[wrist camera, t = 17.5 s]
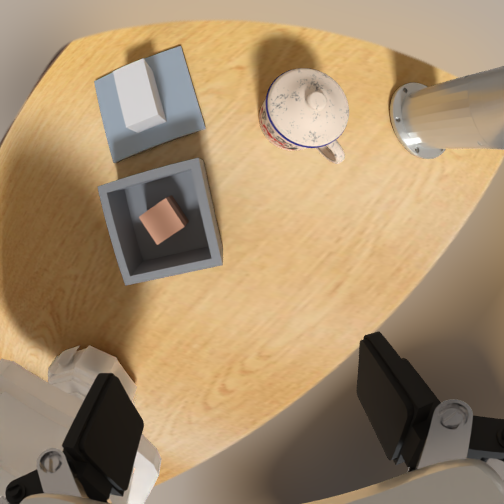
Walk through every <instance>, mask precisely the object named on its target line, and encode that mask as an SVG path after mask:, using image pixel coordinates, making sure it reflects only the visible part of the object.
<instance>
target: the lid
mask: <svg viewBox="0 0 504 504" xmlns="http://www.w3.org/2000/svg"><path fill="white" fill-rule="evenodd" d="M94 83H95V88H96V93H97V98H98V103H99V107H100V112H101V116H102V120H103V124H104V129H105V133H106V137H107V140H108V144H109V148H110V152H111V155H112V159H113V162H114V163H116V162H119V161H121V160H123V159H126V158H128V157H130V156H133V155H135V154H138V153H140V152H143V151H145V150H148V149H150V148H153V147H155V146H158V145H161V144H163V143H166V142H169V141H171V140H174V139H177V138H180V137H183V136H186V135H189V134H192V133H195V132H198V131H201V130H204V129H206V128H205V125H204V121H203V118H202V115H201V112H200V108H199V105H198V102H197V98H196V95H195V92H194V88H193V85H192V82H191V78H190V75H189V72H188V68H187V65H186V62H185V58H184V55H183V51H182V48H181V46H179V47H176V48H173V49H170V50H167V51H164V52H161V53H158V54H156V55H153V56H150V57H148V58H145V59H144V58H142V59H140V60H138V61H135V62H133V63H130V64H128V65H126V66H123V67H121V68H119V69H117V70H115V71H113V73H110V74H108V75H106V76H104V77H102V78H100V79H98V80H96V81H94Z"/></svg>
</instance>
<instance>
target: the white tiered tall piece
mask: <svg viewBox="0 0 504 504" xmlns="http://www.w3.org/2000/svg"><path fill="white" fill-rule="evenodd" d="M78 348H79V346H77V347H74V348H71V349H68V350H65V351H62V353H61V354H60V355H59V357H58V356H57V357H56V358H55V360H54V361H53V362H52V364H51V365H50V366H49V368H48V382H46V381H44V380H43V379H41V378H39V377H38V376H36V375H34V374H33V373H31V372H29V371H28V370H26V369H25V368H23V367H22V366H20V365H19V364H17V363H16V362H14V361H9V360H5V359H1V360H0V497H1V496H4V497H6V495H5V491H6V487H7V485H8V484H9V483H10V482H11V481H13V480H15V479H17V478H19V477H21V476H24V475H26V474H28V473H30V472H32V471H34V470H36V469H37V459H38V457H39V456H40V454H41V453H42V452H44V451H45V450H47V449H51V448H56V449H59V450H61V451H63V449H64V448H63V447H62V443H63V441H64V439H65V437H66V435H67V433H68V431H69V429H70V427H71V425H72V423H73V421H74V419H75V417H76V415H77V413H78V411H79V409H80V407H81V405H82V403H83V401H84V399H85V397H86V395H87V394H88V392H89V390H90V388H91V386H92V384H93V382H94V381H95V379H96V377H97V375H98V374H99V373H113V374H114V375H115V376H117V377H118V378H119V380H120V382H121V383H122V385H123V387H124V389H125V391H126V393H127V394H128V396H129V398H130V400H131V401H132V400H133V397H134V394H135V392H136V389H137V386H136V385H135V383H134V382H133V381H132V379H131V378H130V377H129V375H128V374H127V373H126V371H125V370H124V369H123V367H122V366H121V364H120V363H119V361H118V360H117V358H116V357H114V356H112V355H109V354H107V353H105V352H103V351H101V350H99V349H96V348H94V347H92V346H90V345H89V346H88V347H87V348H86V349H82V350H79V351H77V349H78ZM136 398H137V397H136ZM134 399H135V398H134ZM135 401H136V400H135ZM133 403H134V401H133ZM134 405H135V403H134ZM160 465H161V457H160V454H159V452H158V450H157V448H156V447H155V446H154V445H153V444H152V443H151V442H150V441H149V440H148V439H147V438H146V437H145V436H144V435H143V434H142V435H141V439H140V442H139V446H138V450H137V454H136V458H135V462H134V466H133V470H134V468H135V470H134V473H133V470H132V474H131V478H130V482H129V486H128V489H127V490H126V491H124V495H123V497H122V496H116V495H111V494H110V497H109V498H110V500H111V502H112V504H144V503H145V501H146V499H147V497H148V495H149V493H150V491H151V490H152V488H153V486H154V484H155V482H156V480H157V478H158V476H159V471H160ZM132 475H133V476H132Z"/></svg>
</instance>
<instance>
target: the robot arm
mask: <svg viewBox="0 0 504 504" xmlns="http://www.w3.org/2000/svg"><path fill="white" fill-rule="evenodd" d="M390 117H391V123H392V126H393V129H394V132H395V134H396V136H397V138H398V139H399V141H400V143H401V144H402V145H403V146H404V148H405V149H406V150H407V151H409V152H410V153H411V154H413V155H414V156H416V157H419V158H422V159H433V158H436V157H438V156H440V155H441V154H442V153H443V152H444V151H445V150H446V149H504V66H502V67H499V68H495V69H491V70H488V71H484V72H479V73H476V74H472V75H468V76H465V77H460V78H457V79H453V80H450V81H446V82H443V83H440V84H436V85H433V86H430V87H427V86H425V85H423V84H420V83H408V84H405V85H403V86H401V87H399V88H398V89H397V90H396V91H395V93H394V95H393V97H392V100H391V104H390ZM357 395H358V398H359V400H360V402H361V404H362V406H363V408H364V410H365V412H366V414H367V416H368V418H369V420H370V422H371V424H372V427H373V429H374V431H375V433H376V435H377V437H378V439H379V441H380V443H381V445H382V447H383V449H384V452H385V454H386V456H387V458H388V459H389V460H394V462H395V464H396V465H398V464H400V463H403V462H405V463H406V465H407V467H409V469H408V472H407V473H405V474H403V475H400V476H397V477H395V478H392V479H389V480H386V481H383V482H381V483H378V484H375V485H372V486H369V487H366V488H362V489H360V490H356V491H352V492H349V493H345V494H342V495H338V496H334V497H331V498H327V499H323V500H318V501H314V502H309V503H304V504H504V419H495V418H487V417H479V416H473V413H472V410H471V408H470V407H469V405H468V404H466V403H465V402H463V401H460V400H447V401H444V402H442V403H440V401H439V400H438V399H437V397H436V396H435V395H434V393H433V392H432V391H431V390H430V388H429V387H428V385H427V384H426V383H425V382H424V380H423V379H422V378H421V377H420V375H419V374H418V373H417V371H416V370H415V369H414V368H413V366H412V365H411V364H410V363H409V361H408V360H407V359H405V358H402V359H401V358H400V356H399V355H398V354H397V353H396V351H395V350H394V349H393V348H392V346H391V345H390V344H389V342H388V341H387V340H386V339H385V338H384V336H383V335H382V334H381V333H380V332H375V333H371V334H368V335H365V336H364V340H361V341H360V348H359V367H358V380H357ZM143 427H144V423H143V420H142V418H141V416H140V415H139V413H138V411H137V410H136V408H135V406H134V405H133V403H132V401H131V400H130V398H129V396H128V394H127V393H126V391H125V389H124V387H123V385H122V383H121V382H120V380H119V378H118V377H117V376H115V375H114V374H113V373H99V374H98V375H97V377H96V379H95V381H94V382H93V384H92V386H91V388H90V390H89V392H88V394H87V395H86V397H85V399H84V401H83V403H82V405H81V407H80V409H79V411H78V413H77V415H76V417H75V419H74V421H73V423H72V425H71V427H70V429H69V431H68V433H67V435H66V437H65V439H64V441H63V443H62V447H63V448H64V449H63V451H61V450H59V449H56V448H51V449H47V450H45V451H44V452H42V453H41V454H40V456H39V457H38V459H37V469H36V470H34V471H32V472H30V473H28V474H26V475H24V476H21V477H19V478H17V479H15V480H13V481H11V482H10V483H9V484H8V485H7V487H6V491H5V495H6V497H4V496H1V497H0V504H112V502H111V500H110V498H109V497H110V494H111V495H116V496H122V497H123V495H124V491H126V490H127V489H128V486H129V482H130V478H131V474H132V470H133V466H134V462H135V458H136V454H137V450H138V446H139V442H140V439H141V435H142V431H143Z"/></svg>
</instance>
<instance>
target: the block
mask: <svg viewBox="0 0 504 504" xmlns="http://www.w3.org/2000/svg"><path fill="white" fill-rule="evenodd" d="M139 218H140V220H141V221H142V223H143V224H144V226H145V228H146V229H147V231H148V232H149V233H150V235H151V236H152V238H153V239H154V241H155V242H156V244H157V245H158V244H160V243H161V242H163V241H164V240H166V239H167V238H169V237H170V236H172V235H173V234H175V233H176V232H178V231H179V230H181V229H182V228H184V227H185V226H186V224H187V223H188V222H189V221H188V219H187V217H186V216H185V214H184V213H183V211H182V210H181V208H180V207H179V205H178V204H177V202H176V201H175V199H174V198H173V196H172V195H171V196H169V197H167V198H165V199H164V200H162V201H161V202H159V203H158V204H156V205H155V206H154V207H152V208H151V209H149V210H148V211H147V212H145V213H144V214H142V215H141V216H140V217H139Z"/></svg>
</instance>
